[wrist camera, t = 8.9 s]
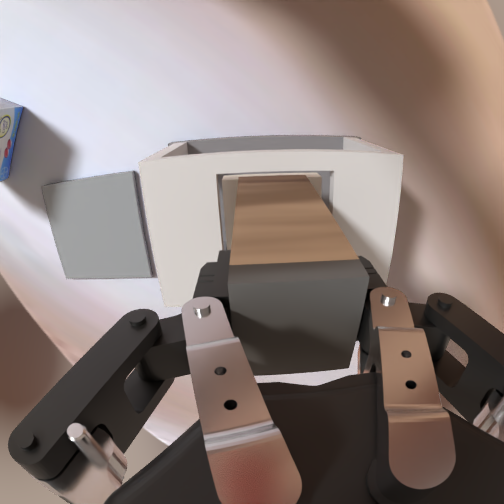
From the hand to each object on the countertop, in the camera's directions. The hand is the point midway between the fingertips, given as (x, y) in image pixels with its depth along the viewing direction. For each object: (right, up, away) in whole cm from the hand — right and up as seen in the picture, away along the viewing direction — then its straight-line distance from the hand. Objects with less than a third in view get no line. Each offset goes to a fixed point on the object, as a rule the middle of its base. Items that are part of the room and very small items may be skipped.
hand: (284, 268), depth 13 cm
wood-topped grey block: (0, +4, +6) cm, 7 cm away
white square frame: (0, +1, +14) cm, 14 cm away
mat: (-16, +3, +13) cm, 21 cm away
